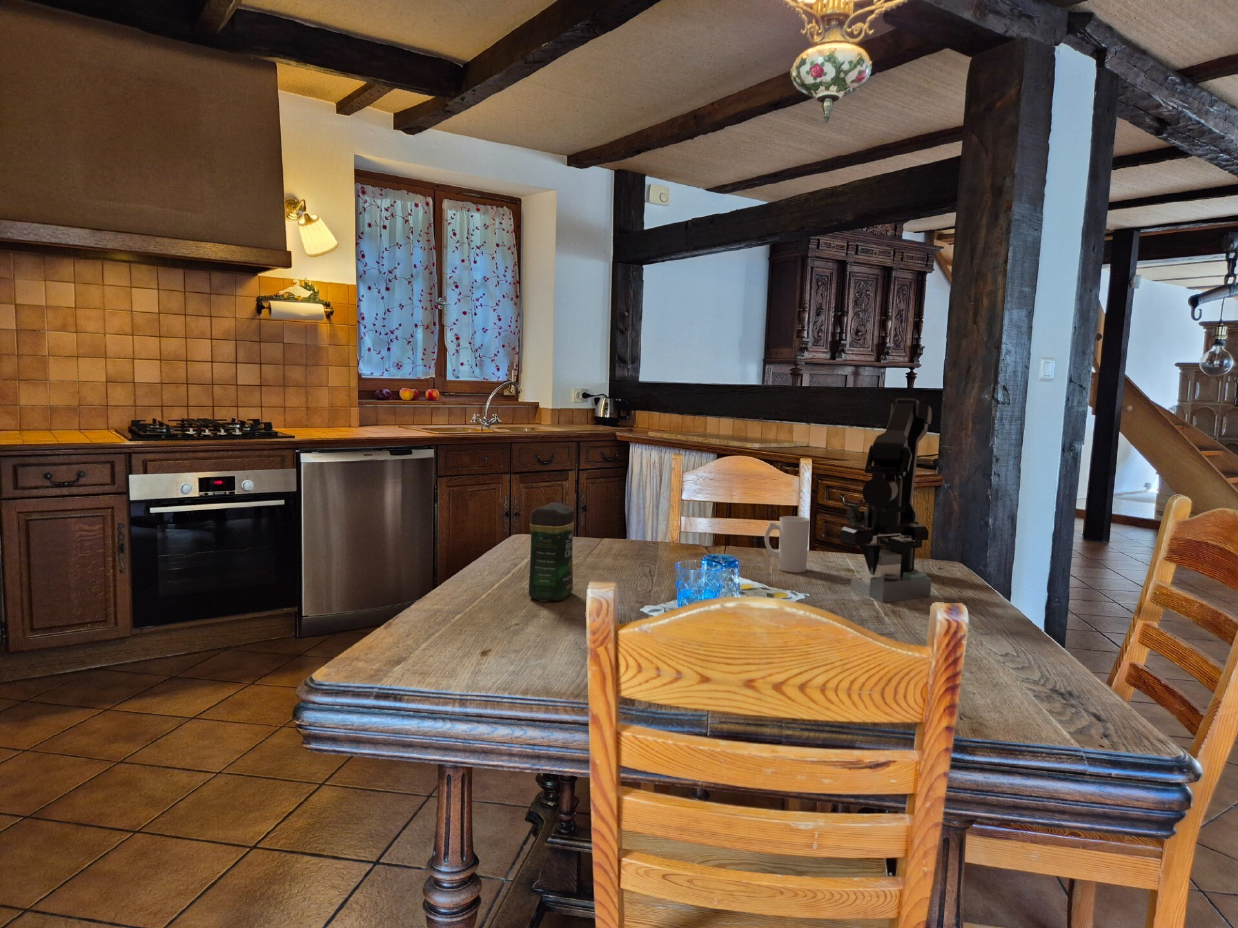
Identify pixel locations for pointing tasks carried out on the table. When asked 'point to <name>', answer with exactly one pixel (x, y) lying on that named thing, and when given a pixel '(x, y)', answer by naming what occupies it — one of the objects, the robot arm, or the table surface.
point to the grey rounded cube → (885, 564)
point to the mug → (790, 543)
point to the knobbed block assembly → (895, 586)
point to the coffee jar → (551, 552)
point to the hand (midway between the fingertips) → (882, 573)
